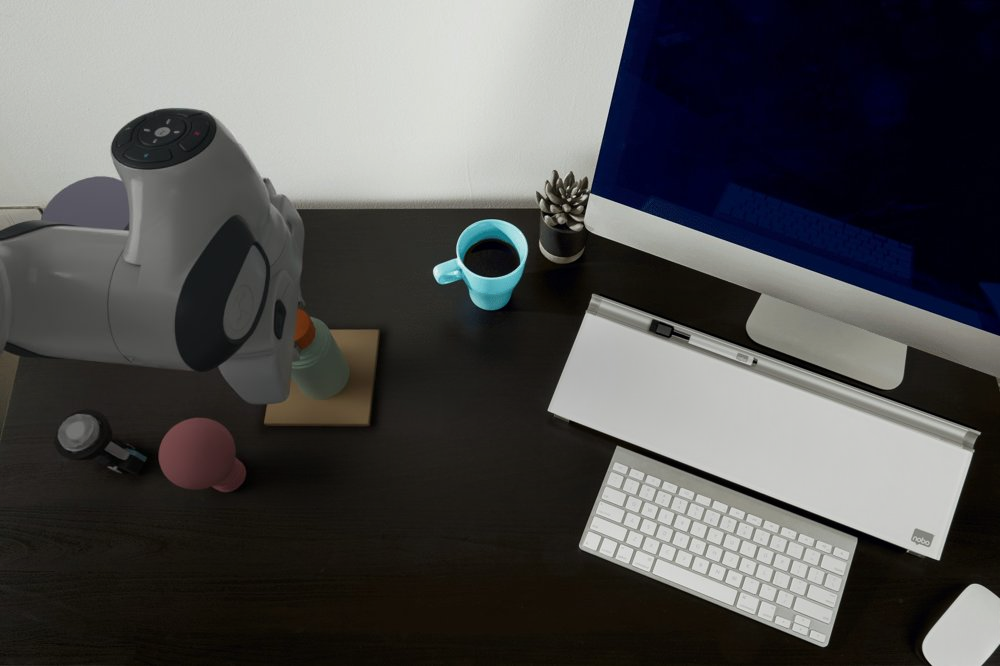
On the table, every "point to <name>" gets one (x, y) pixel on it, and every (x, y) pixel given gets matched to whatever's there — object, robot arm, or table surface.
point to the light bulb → (201, 456)
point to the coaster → (345, 405)
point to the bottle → (321, 366)
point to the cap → (304, 329)
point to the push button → (96, 442)
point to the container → (91, 204)
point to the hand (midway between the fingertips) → (295, 333)
